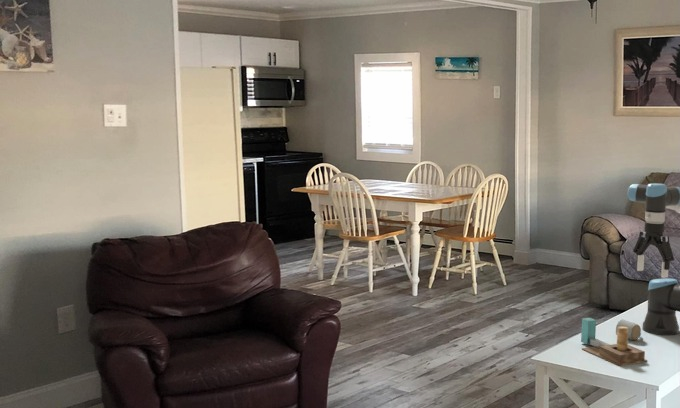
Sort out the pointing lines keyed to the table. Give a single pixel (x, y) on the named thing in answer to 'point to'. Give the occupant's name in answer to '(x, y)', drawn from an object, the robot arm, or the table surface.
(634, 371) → the table surface
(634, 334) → the grey cylinder
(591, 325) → the teal l-shaped block
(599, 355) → the dock
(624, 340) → the dowel
